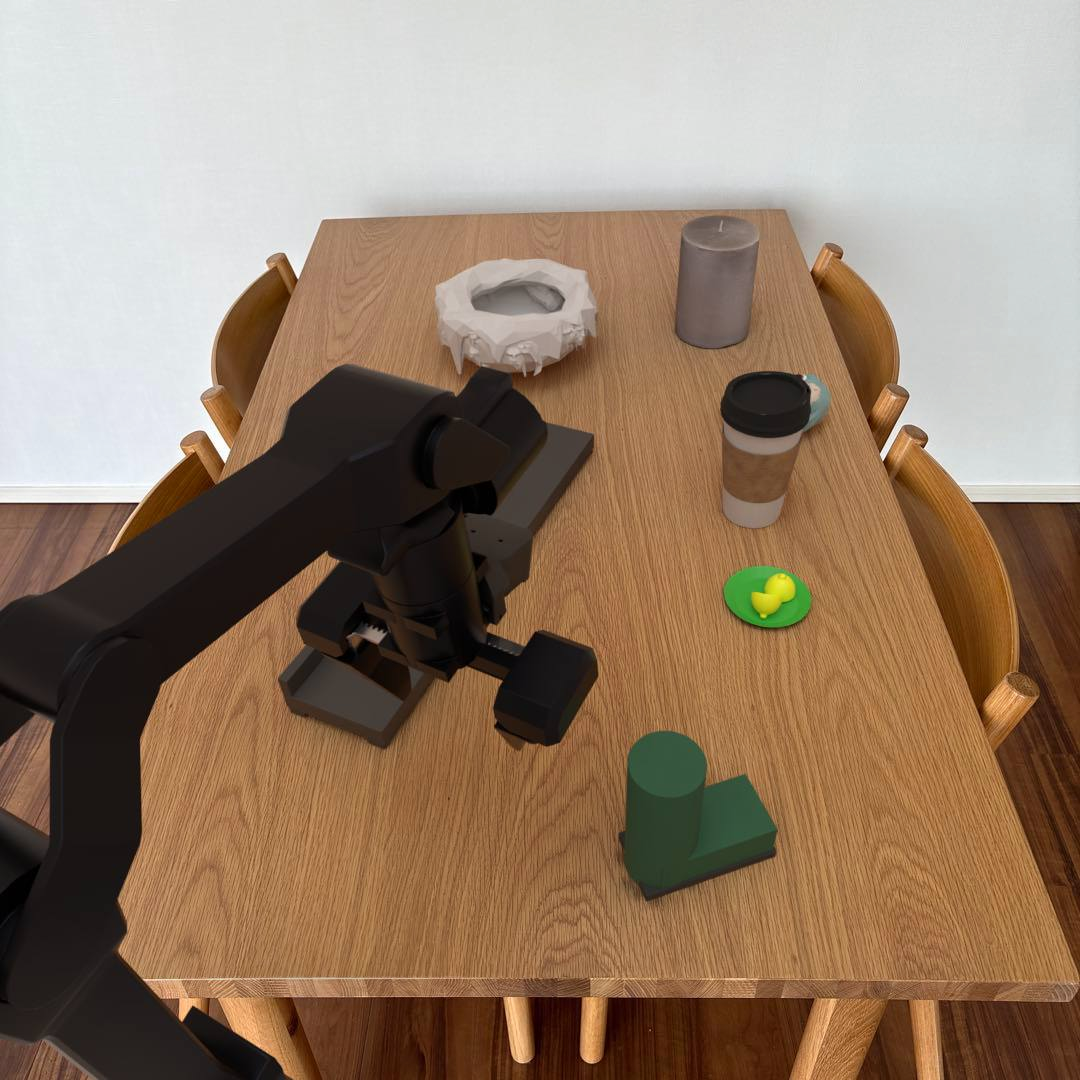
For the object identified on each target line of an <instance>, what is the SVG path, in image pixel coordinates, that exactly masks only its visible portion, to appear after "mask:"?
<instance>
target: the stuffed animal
mask: <svg viewBox="0 0 1080 1080" xmlns="http://www.w3.org/2000/svg"><path fill="white" fill-rule="evenodd" d="M782 372H786V373H790V371H782ZM793 374H794V375H797V376H798V377H800V378H802V379H803V380H804V381H805V382H806V383H807V384H808V386H809V387H810V389H811V399H810V405H811V414H810V419H809V421H808V424H807V425H806V426H805V427H804V428H803V429H802V432H803V433H805V432H807V431H808V430H809V429H811V428H812V427H814V426H817V425H819V424H820V423H821V422H822V421H824V419H826V417H827V414H828V413H829V411H830V408H831V405H832V404H831V403H832V395H831V392H830V391H829V388H828V387H827V386H826V385H825V384H824V382H823V381H822V380H821V379H820V378H819V377H818V376H817V375H815V374H814V373H807V374H806V373H793Z"/></svg>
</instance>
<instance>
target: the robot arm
mask: <svg viewBox="0 0 1080 1080" xmlns="http://www.w3.org/2000/svg"><path fill="white" fill-rule="evenodd" d="M547 438H548V428H547V424H546V421H545V420H543V418H542V415H541V414H540V412H539V411H538V409H537V408H536V406H535V405H534V403H532V402H531V400H530V399H528V397H526V396H525V395H524V394H523V393H522V392H520V391H519V390H518V389H516V388H514V385H513V377H512V373H511V372H503V371H499V370H495V369H491V368H488V367H484V366H480V367H479V368H477V370H476V371H475V372H474V373H473V374H472V375H471V377H470V378H469V380H468V381H467V383H466V384H465V386H464V387H463V389H462V390H461V391H460V392H459V393H458V394H457V395H455V392H454V391H452V390H449V389H446V388H441V387H438V386H435V385H430V384H427V383H424V382H420V381H417V380H414V379H413V380H412V379H410V378H405V377H402V376H399V375H395V374H391V373H388V372H384V371H380V370H377V369H373V368H369V367H366V366H362V365H359V364H355V363H344V364H341V365H337V366H336V367H333V369H331V370H330V371H329V372H327V373H326V374H325V375H324V376H322V378H321V379H320V380H318V382H316V383H315V384H314V385H312V386H311V388H309V389H308V390H307V391H305V393H303V394H302V395H301V396H300V397H299V398H298V399H296V401H294V403H292V404H291V405H290V406H289V407H288V408H287V410H286V413H285V418H284V421H283V425H282V428H281V432H280V435H279V439H278V440H277V442H275V443H274V444H273V445H272V446H271V447H270V448H269V449H268V450H266V451H265V452H264V453H263V454H261V455H259V456H258V457H256V458H255V459H254V460H252V461H250V462H249V463H248V464H246V465H244V466H243V467H241V468H240V469H238V470H237V471H234V473H232V474H231V475H229V476H227V477H225V478H224V479H222V480H221V481H219V482H218V483H216V484H215V485H213V486H212V487H210V488H208V489H207V490H206V491H204V492H202V493H201V494H199V495H198V496H196V497H195V498H193V499H191V500H190V501H188V502H187V503H186V504H184V505H182V506H181V507H179V508H178V509H176V510H174V511H173V512H171V513H170V514H168V515H166V516H165V517H164V518H162V519H160V520H159V521H158V522H156V523H154V524H153V525H151V526H149V527H148V528H147V529H145V530H143V531H142V532H140V533H139V534H137V535H136V536H134V537H133V538H131V539H130V540H128V541H127V542H125V543H123V544H122V545H121V546H119V547H117V548H115V549H114V550H112V551H111V552H109V553H108V554H107V555H105V556H103V557H102V558H100V559H98V560H97V561H96V562H94V563H93V564H91V565H89V566H88V567H86V568H85V569H83V570H81V571H80V572H78V573H77V574H75V575H73V576H72V577H71V578H69V579H68V580H66V581H64V582H62V583H61V584H60V585H58V586H56V587H55V588H53V589H51V590H48V591H47V592H44V593H28V594H26V595H23V596H21V597H19V598H17V599H16V598H15V599H14V600H11V601H10V602H8V604H6V605H5V606H4V607H3V608H1V610H0V748H1V747H2V746H4V744H5V743H7V742H8V741H9V739H10V738H12V737H13V736H14V735H15V734H16V733H17V732H18V731H19V730H21V728H23V727H24V726H25V725H26V724H27V723H28V722H29V721H30V720H31V719H32V718H33V717H34V716H35V715H36V716H39V717H40V718H42V719H44V720H46V721H47V722H50V723H51V724H53V725H52V728H51V732H50V738H49V826H48V827H49V828H48V829H49V831H48V832H49V833H48V834H47V833H46V832H44V831H42V830H40V829H39V828H37V827H36V826H34V825H33V824H31V823H29V822H27V821H26V820H24V819H23V818H21V817H19V816H18V815H16V814H14V813H12V812H11V811H9V810H8V809H6V808H4V807H2V806H0V1040H3V1041H7V1042H10V1043H14V1044H17V1045H21V1046H24V1047H28V1046H32V1045H36V1044H37V1043H39V1042H41V1041H43V1042H45V1043H46V1044H47V1045H48V1046H49V1047H51V1048H52V1049H53V1050H54V1051H56V1052H57V1053H58V1055H60V1056H62V1057H63V1058H65V1060H67V1061H68V1062H70V1063H71V1064H72V1065H73V1066H74V1067H76V1068H77V1069H79V1071H81V1072H82V1073H84V1074H85V1075H86V1076H87V1077H89V1078H90V1079H91V1080H295V1079H294V1078H292V1077H290V1076H289V1075H287V1074H286V1073H285V1072H284V1069H283V1067H282V1065H281V1063H280V1062H279V1061H278V1060H277V1058H276V1057H275V1056H273V1055H271V1054H270V1053H269V1052H267V1051H265V1050H263V1049H262V1048H261V1047H259V1046H258V1045H256V1044H254V1043H253V1042H251V1041H250V1040H248V1039H247V1038H245V1037H243V1036H242V1035H240V1034H239V1033H237V1032H236V1031H234V1030H233V1029H231V1028H229V1027H228V1026H226V1025H224V1024H223V1023H222V1022H220V1021H218V1020H217V1019H215V1018H213V1017H212V1016H211V1015H209V1014H208V1013H206V1012H204V1011H203V1010H201V1009H200V1008H198V1007H196V1005H191V1007H190V1008H189V1009H188V1011H187V1013H186V1014H185V1016H184V1018H183V1019H182V1020H181V1019H180V1018H179V1017H178V1016H177V1015H176V1013H175V1012H174V1011H173V1010H172V1009H171V1008H170V1007H169V1006H168V1005H167V1003H165V1002H164V1001H163V999H161V997H160V996H159V995H158V994H157V993H156V992H155V991H154V990H153V989H152V988H151V987H150V986H149V984H148V983H147V982H146V981H145V980H144V979H143V978H142V977H141V976H140V975H139V973H138V972H136V970H135V969H134V968H133V967H132V966H131V964H129V963H128V962H127V960H126V959H125V958H123V956H122V955H121V954H120V952H119V949H120V947H121V945H122V943H123V942H124V939H125V938H126V936H127V934H128V921H127V918H126V915H125V913H124V911H123V908H122V906H121V904H120V902H119V897H120V894H121V892H122V889H123V887H124V884H125V883H126V880H127V877H128V875H129V872H130V870H131V867H132V866H133V863H134V861H135V858H136V856H137V853H138V851H139V848H140V845H141V841H142V837H143V815H142V814H143V812H142V811H143V809H142V808H143V806H142V761H141V760H142V759H141V738H142V735H143V733H144V730H145V727H146V724H147V723H148V720H149V718H150V715H151V712H152V710H153V708H154V706H155V703H156V701H157V698H158V696H159V693H160V691H161V687H162V685H163V684H164V683H166V682H167V681H168V680H169V679H170V678H172V677H173V676H174V675H176V673H177V672H180V670H181V669H183V668H184V667H185V666H186V665H187V664H189V663H190V662H191V661H193V660H194V659H195V658H197V656H199V655H200V654H201V653H203V651H205V650H206V649H207V648H208V647H210V646H211V645H212V644H214V643H215V642H216V641H217V640H218V639H220V638H221V637H222V636H223V635H225V634H226V633H228V631H230V630H231V629H232V628H233V627H234V626H236V625H237V624H238V623H240V622H241V621H242V620H243V619H244V618H246V617H247V616H248V615H250V614H251V613H252V612H253V611H255V610H256V609H257V608H258V607H259V606H261V605H262V604H263V603H265V601H267V600H268V599H269V598H270V597H272V596H273V595H274V594H275V593H277V592H278V591H279V590H281V589H282V588H283V587H284V586H285V585H287V584H288V583H289V582H290V581H292V579H294V578H295V577H297V576H298V575H299V574H300V573H302V571H304V570H305V569H307V567H309V566H310V565H311V564H312V563H314V562H315V561H316V560H317V559H318V558H320V557H321V556H323V554H325V553H326V554H327V556H328V557H329V558H331V559H334V560H336V561H338V562H337V563H336V564H335V565H334V566H333V567H332V568H331V569H330V570H329V572H328V573H327V574H326V575H325V576H324V577H323V579H322V580H321V581H320V582H319V583H318V584H317V586H316V587H314V589H313V590H312V591H311V592H310V593H309V595H308V596H307V597H306V598H305V599H304V601H302V603H301V604H300V605H299V607H298V610H297V613H296V617H295V626H296V629H297V631H298V633H299V636H300V638H301V641H302V643H303V644H304V646H305V645H308V646H310V647H312V648H315V649H317V650H319V651H321V653H322V654H323V655H324V656H325V657H327V658H330V659H332V660H333V661H335V662H337V663H339V664H340V665H342V666H344V667H345V668H347V669H349V670H351V671H352V672H354V673H356V674H357V675H359V676H361V677H363V678H364V679H366V680H367V681H369V682H371V683H373V684H374V685H376V686H378V687H379V688H381V689H382V690H384V691H386V692H387V693H389V694H391V695H392V696H394V697H396V698H397V699H399V700H401V701H405V700H406V698H407V697H408V696H409V694H410V693H411V691H412V685H411V677H410V672H409V668H408V666H409V667H411V668H413V669H416V670H418V671H421V672H423V673H425V674H428V675H430V676H433V677H435V678H436V679H438V680H440V681H443V682H445V683H448V684H450V682H451V681H452V679H453V677H455V675H456V674H457V672H458V670H462V669H464V668H466V667H467V668H470V669H472V670H474V671H477V672H480V673H481V674H484V675H486V676H489V677H492V678H494V679H497V680H499V681H501V683H500V684H499V686H498V688H497V692H496V695H495V699H494V702H493V705H492V711H493V712H492V713H493V717H494V719H495V720H496V721H495V723H494V724H493V728H494V729H495V731H496V732H497V733H498V734H499V735H500V736H501V737H502V739H504V741H505V742H506V743H507V744H508V745H509V746H510V747H511V748H512V749H513V750H515V751H517V752H521V751H522V749H523V748H524V746H525V745H526V743H527V744H529V745H537V744H539V745H540V746H543V747H546V748H548V747H551V746H555V745H558V744H561V742H562V741H563V739H564V737H565V735H566V734H567V732H568V730H569V729H570V727H571V725H572V724H573V721H574V720H575V719H576V716H577V714H578V713H579V711H580V709H581V708H582V707H583V704H584V702H585V701H586V699H587V697H588V695H589V694H590V692H591V690H592V689H593V687H594V686H595V683H596V682H597V680H598V678H599V664H598V663H599V662H598V658H597V654H596V652H595V650H594V648H593V647H591V646H588V645H586V644H583V643H580V642H577V641H575V640H572V639H570V638H566V637H564V636H561V635H559V634H556V633H554V632H550V631H548V630H545V629H540V630H535V631H534V632H533V634H532V635H531V637H529V638H530V639H529V640H528V642H527V643H526V645H523V644H520V643H517V642H516V641H512V640H510V639H507V638H504V637H502V636H499V635H496V634H494V633H492V632H490V631H488V628H489V626H490V625H493V626H498V625H499V624H500V622H501V621H502V619H503V618H504V617H505V615H506V614H507V607H506V600H505V598H506V597H507V596H509V594H511V593H512V592H513V591H514V590H515V589H516V588H517V587H519V586H520V585H521V584H522V583H523V584H524V583H526V582H527V581H528V580H529V579H530V573H531V563H532V562H531V561H532V551H533V542H534V541H533V540H534V536H533V534H532V532H531V531H530V530H528V529H526V528H523V527H520V526H517V525H514V524H511V523H508V522H505V521H502V520H499V519H496V518H493V517H490V516H491V515H493V513H494V512H495V511H496V510H497V508H498V507H499V506H500V504H501V503H502V502H503V500H504V499H505V498H506V496H507V495H508V494H509V493H510V491H511V490H512V489H513V487H514V486H515V485H516V483H517V482H518V481H519V479H520V478H521V477H522V475H523V474H524V473H525V471H526V470H527V469H528V468H529V466H530V465H531V464H532V462H533V461H534V460H535V458H536V457H537V456H538V454H539V453H540V452H541V450H542V449H543V448H544V446H545V444H546V442H547ZM483 514H486V515H483ZM487 515H489V516H487ZM435 678H434V679H435Z"/></svg>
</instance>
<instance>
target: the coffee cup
mask: <svg viewBox="0 0 1080 1080" xmlns="http://www.w3.org/2000/svg"><path fill="white" fill-rule="evenodd" d="M786 372H787V371H785V372H783V371H780V370H779V371H778V370H777V371H776V370H761V371H760V370H759V371H751V372H747V373H743V374H741V375H738V376H736V377H734V378H732V379H731V380H730V381H729V382H728V383H727V385H726V386H725V390H724V393H723V396H722V397H721V399H720V408H719V411H720V416H721V418H722V420H723V423H722V426H721V464H722V465H721V470H722V471H721V473H722V474H721V475H722V476H721V477H722V479H721V480H722V481H721V482H722V511H723V514H724V516H725V517H726V519H728V520H729V521H730V522H731V523H733V524H734V525H736V526H739V527H742V528H745V529H762V528H766V527H770V526H771V525H773V524H774V523H776V522H777V520H778V519H779V518H780V515H781V512H782V508H783V505H784V502H785V498H786V494H787V490H788V488H789V484H790V481H791V478H792V474H793V472H794V467H795V465H796V461H797V458H798V454H799V450H800V448H801V444H802V441H803V437H804V432H802V429H803V428H804V427H805V426H806V425H807V424H808V421H809V419H810V414H811V405H810V399H811V389H810V387H809V386H808V384H807V383H806V382H805V381H804V380H803V379H802V378H800V377H798V376H797V375H794V374H795V373H791V372H789V373H786Z"/></svg>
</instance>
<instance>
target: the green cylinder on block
mask: <svg viewBox="0 0 1080 1080" xmlns="http://www.w3.org/2000/svg"><path fill="white" fill-rule="evenodd" d="M707 772H708V762H707V758H706V755H705V753H704V751H703V749H702V748H701V746H700V745H699V744H698V743H697V742H696V741H695V740H693V738H691V737H689V736H688V735H685V734H684V733H681V732H677V731H673V730H656V731H652V732H649V733H646V734H644V735H643V736H641V737H640V738H638V739H637V740H636V741H635V742H634V743H633V745H632V746H631V747H630V749H629V752H628V754H627V761H626V787H625V790H626V792H625V818H624V819H625V821H624V823H625V824H624V825H625V826H624V830H622V831H620V832H618V841H619V842H620V845H621V847H622V850H623V852H624V856H623V857H624V858H623V859H624V866H625V869H626V872H627V873H628V875H629V876H630V878H631V879H632V880H633V881H634V882H635V883H636V884H637V885H638V886H639V888H640V891H641V892H642V895H643V897H644V899H645V901H646V902H648V901H652V900H654V899H658V898H660V897H662V896H665V895H668V894H672V893H675V892H678V891H680V890H683V889H686V888H688V887H691V886H694V885H698V884H700V883H703V882H706V881H709V880H711V879H714V878H717V877H720V876H723V875H726V874H729V873H732V872H734V871H737V870H740V869H743V868H746V867H749V866H751V865H754V864H758V863H761V862H763V861H766V860H769V859H771V858H774V857H776V855H777V848H776V847H775V844H776V838H777V835H778V831H779V829H778V827H777V825H776V824H775V821H774V820H773V818H772V817H771V815H770V813H769V812H768V810H767V808H766V806H765V805H764V803H763V801H762V800H761V798H760V796H759V795H758V792H757V791H756V789H755V788H754V786H753V784H752V782H751V780H750V779H749V778H748V777H749V776H748V775H747V774H746V773H743V774H740V775H737V776H733V777H730V778H728V779H725V780H722V781H719V782H715V783H712V784H710V785H706V781H707Z"/></svg>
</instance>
